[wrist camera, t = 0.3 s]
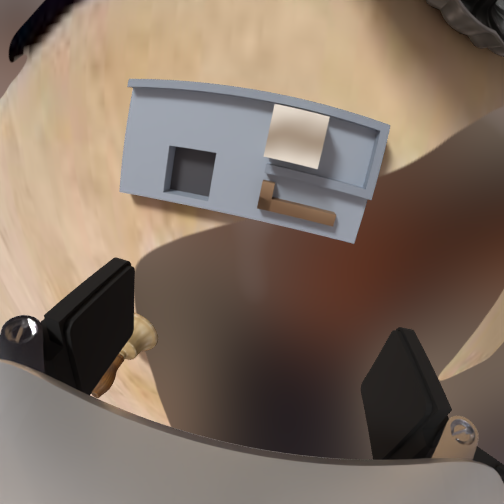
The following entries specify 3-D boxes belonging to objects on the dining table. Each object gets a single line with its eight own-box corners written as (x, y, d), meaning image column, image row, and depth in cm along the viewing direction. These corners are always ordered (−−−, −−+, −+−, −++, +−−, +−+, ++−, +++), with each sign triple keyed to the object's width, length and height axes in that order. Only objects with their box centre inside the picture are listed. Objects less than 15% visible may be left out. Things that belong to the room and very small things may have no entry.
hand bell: (166, 336, 48) (128, 405, 33) (142, 356, 51) (105, 418, 36) (130, 303, 46) (80, 364, 32) (109, 326, 49) (64, 383, 34)
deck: (143, 83, 33) (128, 78, 29) (380, 126, 32) (390, 125, 28) (128, 188, 39) (113, 194, 35) (350, 237, 38) (356, 248, 34)
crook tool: (263, 179, 34) (262, 181, 33) (338, 197, 33) (340, 200, 32) (258, 205, 35) (256, 208, 34) (331, 223, 35) (333, 226, 33)
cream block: (276, 108, 31) (274, 103, 26) (324, 119, 30) (329, 116, 26) (266, 154, 33) (263, 156, 29) (313, 165, 32) (317, 169, 28)
